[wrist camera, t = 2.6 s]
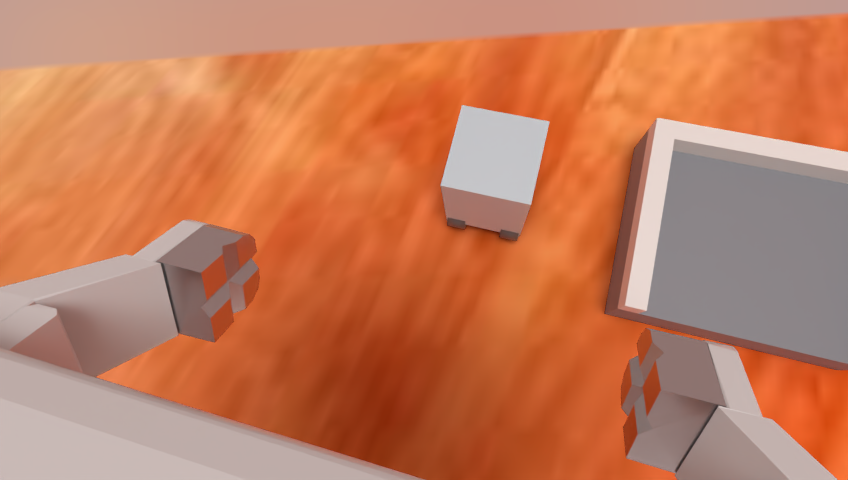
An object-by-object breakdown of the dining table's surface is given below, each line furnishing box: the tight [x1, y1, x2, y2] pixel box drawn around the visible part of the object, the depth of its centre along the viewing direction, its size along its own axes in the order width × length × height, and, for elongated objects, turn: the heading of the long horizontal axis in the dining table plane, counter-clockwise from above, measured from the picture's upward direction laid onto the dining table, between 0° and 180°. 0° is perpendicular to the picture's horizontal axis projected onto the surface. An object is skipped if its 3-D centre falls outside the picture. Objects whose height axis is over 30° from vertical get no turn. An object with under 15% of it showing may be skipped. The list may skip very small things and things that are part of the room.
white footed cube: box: [441, 105, 549, 241], centre depth 31 cm, size 5×6×8 cm
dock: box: [605, 118, 848, 370], centre depth 30 cm, size 14×12×4 cm
